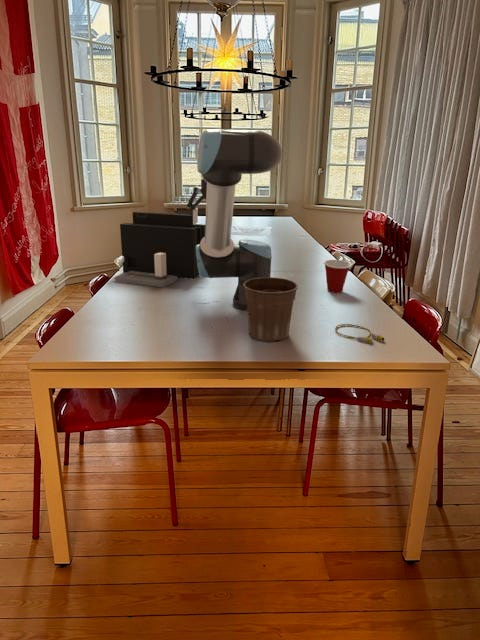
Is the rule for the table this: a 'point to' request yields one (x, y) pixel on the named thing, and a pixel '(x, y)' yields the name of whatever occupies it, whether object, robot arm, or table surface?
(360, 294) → the table surface
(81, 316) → the table surface
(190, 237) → the game console
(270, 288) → the plant pot
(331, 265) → the plastic cup
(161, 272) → the fader
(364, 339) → the looped cable
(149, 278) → the fader panel
